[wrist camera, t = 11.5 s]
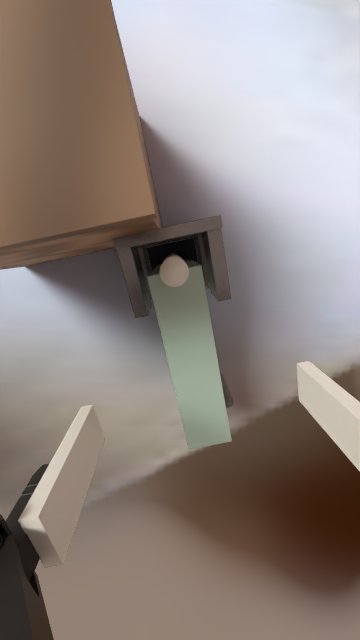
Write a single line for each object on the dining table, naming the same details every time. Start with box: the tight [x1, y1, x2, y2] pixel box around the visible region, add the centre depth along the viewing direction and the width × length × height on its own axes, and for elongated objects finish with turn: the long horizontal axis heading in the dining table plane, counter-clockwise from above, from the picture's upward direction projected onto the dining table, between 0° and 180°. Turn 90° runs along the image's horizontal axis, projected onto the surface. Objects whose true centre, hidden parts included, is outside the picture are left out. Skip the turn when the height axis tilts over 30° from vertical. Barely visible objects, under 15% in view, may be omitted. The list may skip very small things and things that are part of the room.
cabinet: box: [0, 0, 163, 269], centre depth 16 cm, size 18×13×21 cm
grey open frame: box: [112, 215, 231, 318], centre depth 23 cm, size 8×6×12 cm
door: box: [147, 253, 233, 449], centre depth 25 cm, size 5×17×13 cm, turn 11°
